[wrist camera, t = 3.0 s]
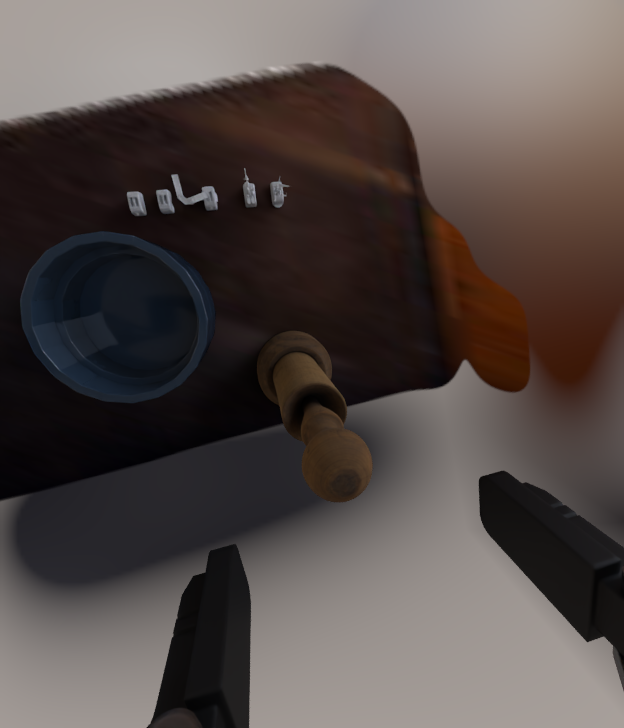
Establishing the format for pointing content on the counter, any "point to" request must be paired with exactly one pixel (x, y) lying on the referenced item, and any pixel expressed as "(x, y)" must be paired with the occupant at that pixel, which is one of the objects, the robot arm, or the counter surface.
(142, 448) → the counter surface
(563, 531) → the robot arm
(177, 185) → the figurines set
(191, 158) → the counter surface
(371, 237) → the counter surface
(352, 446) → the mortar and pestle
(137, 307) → the blue bowl
